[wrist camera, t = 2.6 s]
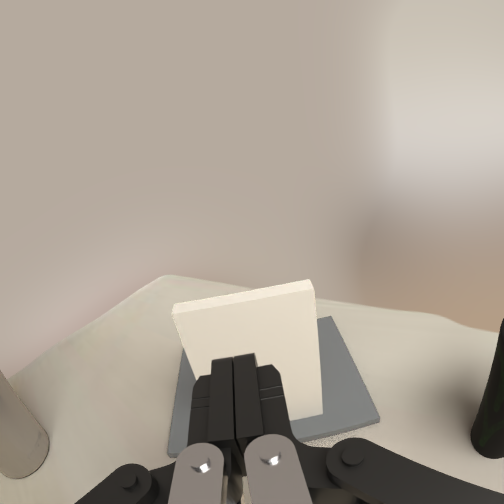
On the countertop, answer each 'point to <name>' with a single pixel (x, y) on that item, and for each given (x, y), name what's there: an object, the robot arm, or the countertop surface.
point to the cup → (492, 409)
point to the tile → (259, 337)
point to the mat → (333, 395)
